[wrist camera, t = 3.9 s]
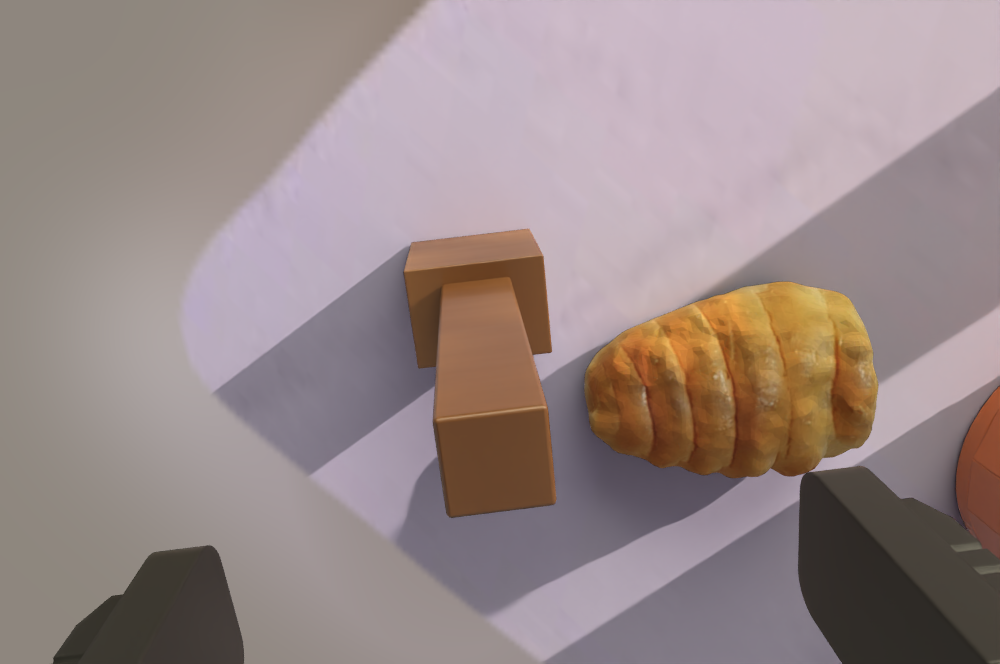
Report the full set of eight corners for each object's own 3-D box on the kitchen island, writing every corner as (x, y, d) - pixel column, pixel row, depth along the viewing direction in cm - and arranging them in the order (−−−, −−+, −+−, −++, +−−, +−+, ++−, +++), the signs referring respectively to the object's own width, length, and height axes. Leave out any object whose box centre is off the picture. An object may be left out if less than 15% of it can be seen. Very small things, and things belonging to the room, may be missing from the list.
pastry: (588, 471, 28) (608, 528, 24) (572, 300, 26) (591, 335, 22) (834, 437, 28) (890, 488, 24) (837, 264, 26) (900, 292, 22)
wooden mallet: (423, 327, 26) (395, 551, 13) (410, 242, 25) (368, 400, 12) (537, 313, 26) (614, 523, 14) (529, 228, 25) (604, 371, 13)
